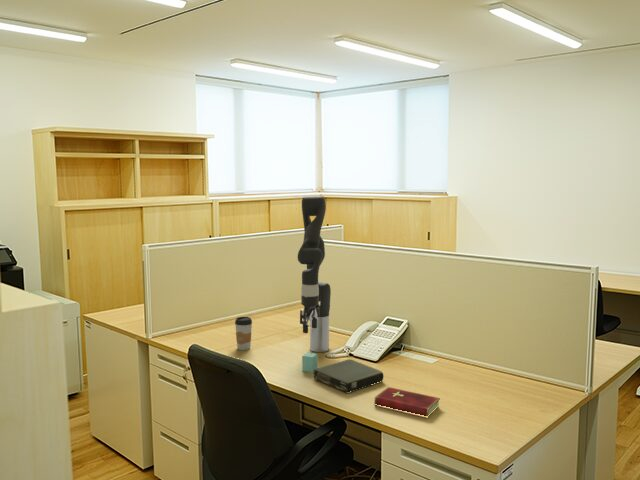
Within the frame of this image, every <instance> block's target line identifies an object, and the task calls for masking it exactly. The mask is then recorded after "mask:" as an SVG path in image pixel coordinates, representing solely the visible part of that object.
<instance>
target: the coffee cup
mask: <svg viewBox="0 0 640 480" xmlns="http://www.w3.org/2000/svg"><path fill="white" fill-rule="evenodd" d="M234 325H235V337H236V346H237V350H238V351H239V350H240V351H248V350H250V348H251V346H252V345H251V344H252V343H251V342H252V325H253V320H252V318H251V317H249V316H239V317H236V318H235V321H234Z"/></svg>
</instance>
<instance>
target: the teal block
mask: <svg viewBox="0 0 640 480" xmlns="http://www.w3.org/2000/svg"><path fill="white" fill-rule="evenodd" d="M318 355H319V354H318V353H313V352H308V351H307V352H306V353H304V354H303V355H301V356H302V358H301V359H302V361H301V366H302V368H301V371H302V372H305V371H308V372H307V373H311V372H313V373H314V370H315V369H318V368H319V367H318V366H319V365H318V364H319V361H318V360H319V358H318V357H319V356H318Z"/></svg>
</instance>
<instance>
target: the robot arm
mask: <svg viewBox="0 0 640 480" xmlns="http://www.w3.org/2000/svg"><path fill="white" fill-rule="evenodd" d="M326 209H327V203H326V199H325V197H324V196H322V195H320V196H319V195H317V196H315V195H313V196H310V195H309V196H304V197H302V199H301V213H302V214H301V215H302V220H303V221H302V222H303V228H304V234H303V243H302V244H301V245H300V248H299V250H298V253H297V261H298V262H299V264H300V265H306V269H304V270H303V271H302V272H301V289H300V291H301V294H300V295H301V297H300V298H301V299H300V300H301V306H303V309H300V310H299V324H301V325H302V333H303V334H308V333H309V349H310V351H311V352H316V353H324V352H325V353H326V352H328V351H329V350H330V310H331V296H332V295H331V294H332V292H331V285H330V284H329V283H327V282H319V272H320V267H321V265H322V263H323V261H324V259H325V257H326V250H325V248H326V247H325V241H324V240H323V238H322V237H321V231H322V226H323V223H324V219H325V216H326V211H327V210H326ZM311 217H315V218H314V219H313V220H312V219H311ZM309 329H310V330H309Z"/></svg>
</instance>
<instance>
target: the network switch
mask: <svg viewBox="0 0 640 480" xmlns="http://www.w3.org/2000/svg"><path fill="white" fill-rule="evenodd" d="M313 379H314V380H315V379H316V381H321V382H320V383H324V384H325V383H326V384H325V385H328V386H330V385H331V386H330V387H332V386H333V387H332V388H335V389H338V390H341V391H342V390H343V391H342V392H345V393H346V392H350V391H353V390H355V391H357V390H356V389H358V390H360V389H359V388H361V389H363V388H362V387H364V388H366V387H365V386H367V387H369V386H372V385H371V384H374V383H377V382H380V381H382V382H383V381H384V372H383V371H382V370H380V369H377V368H375V367H372V366H369V365H367V364H364V363H361V362H359V361H356V360H354V359H348V358H347V359H346V360H345V359H344V360H342V361H338V362H335V363H331V364H328V365H325V366H322V367H318V369H315V370H314V372H313ZM368 385H369V386H368ZM353 392H354V391H353Z"/></svg>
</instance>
